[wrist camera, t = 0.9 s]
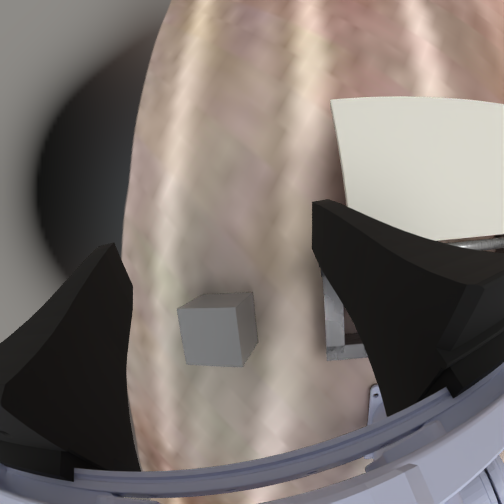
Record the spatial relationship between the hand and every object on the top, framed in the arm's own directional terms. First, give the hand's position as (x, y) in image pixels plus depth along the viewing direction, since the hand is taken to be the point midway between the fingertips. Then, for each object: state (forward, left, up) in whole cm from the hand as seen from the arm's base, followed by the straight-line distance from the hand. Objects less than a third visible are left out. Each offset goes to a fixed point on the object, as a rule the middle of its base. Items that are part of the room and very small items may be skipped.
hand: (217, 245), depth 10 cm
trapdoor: (+1, -12, -11) cm, 17 cm away
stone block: (-7, +5, -14) cm, 16 cm away
